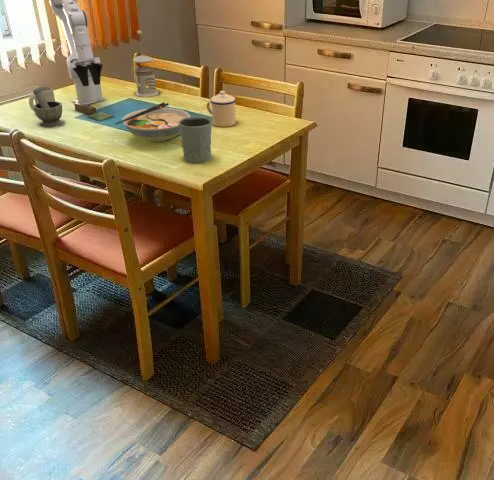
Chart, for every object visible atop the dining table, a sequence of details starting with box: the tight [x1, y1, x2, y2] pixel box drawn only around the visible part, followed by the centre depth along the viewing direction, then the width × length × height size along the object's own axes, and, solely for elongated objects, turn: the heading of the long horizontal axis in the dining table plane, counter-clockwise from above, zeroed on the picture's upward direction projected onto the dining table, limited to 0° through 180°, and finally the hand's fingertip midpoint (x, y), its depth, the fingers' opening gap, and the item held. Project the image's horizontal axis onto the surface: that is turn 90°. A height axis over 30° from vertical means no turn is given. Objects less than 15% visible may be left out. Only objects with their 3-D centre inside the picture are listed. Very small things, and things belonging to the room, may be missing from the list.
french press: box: [130, 29, 160, 98], centre depth 239 cm, size 10×12×25 cm
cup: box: [28, 86, 56, 113], centre depth 221 cm, size 7×10×9 cm
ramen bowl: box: [114, 102, 191, 143], centre depth 199 cm, size 25×23×8 cm
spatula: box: [73, 102, 114, 122], centre depth 222 cm, size 18×6×3 cm, turn 52°
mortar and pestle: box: [32, 89, 63, 128], centre depth 211 cm, size 11×9×12 cm
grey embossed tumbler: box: [178, 116, 213, 164], centre depth 184 cm, size 10×10×12 cm
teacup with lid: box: [206, 90, 237, 128], centre depth 213 cm, size 12×9×12 cm
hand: (91, 85), depth 219 cm, fingers open, 7 cm apart
